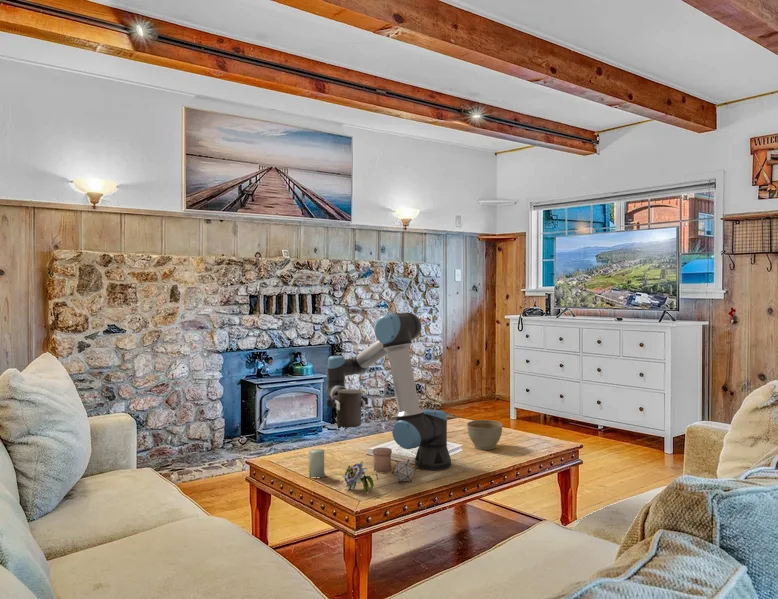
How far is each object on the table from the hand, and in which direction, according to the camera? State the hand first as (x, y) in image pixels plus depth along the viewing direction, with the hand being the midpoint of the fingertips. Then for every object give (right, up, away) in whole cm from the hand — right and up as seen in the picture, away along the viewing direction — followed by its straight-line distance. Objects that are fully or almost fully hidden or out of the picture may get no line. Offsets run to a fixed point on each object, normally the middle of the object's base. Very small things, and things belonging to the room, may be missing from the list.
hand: (351, 405), depth 237 cm
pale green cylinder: (-14, -28, +1) cm, 31 cm away
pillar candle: (-1, -9, +5) cm, 10 cm away
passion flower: (+4, -29, -13) cm, 32 cm away
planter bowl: (+59, -26, +41) cm, 76 cm away
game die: (+20, -28, -6) cm, 35 cm away
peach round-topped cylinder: (+12, -28, +9) cm, 31 cm away
